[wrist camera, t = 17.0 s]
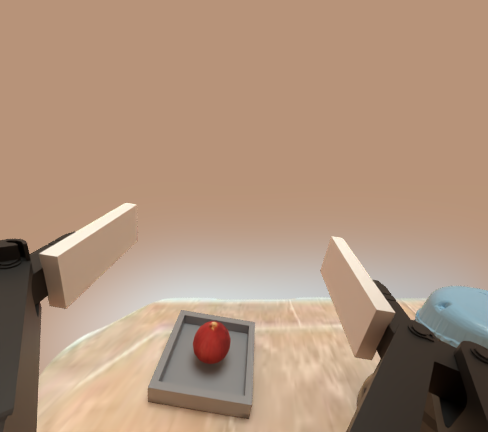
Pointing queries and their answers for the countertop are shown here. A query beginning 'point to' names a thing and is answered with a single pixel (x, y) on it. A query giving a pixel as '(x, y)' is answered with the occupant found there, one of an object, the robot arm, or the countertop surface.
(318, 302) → the countertop surface
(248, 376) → the bin
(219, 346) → the onion
